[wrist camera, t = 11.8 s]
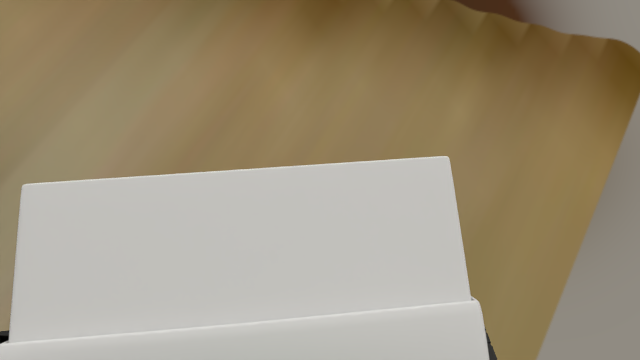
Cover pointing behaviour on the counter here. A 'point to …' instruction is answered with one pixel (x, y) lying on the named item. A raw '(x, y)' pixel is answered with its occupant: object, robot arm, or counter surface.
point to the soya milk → (246, 266)
